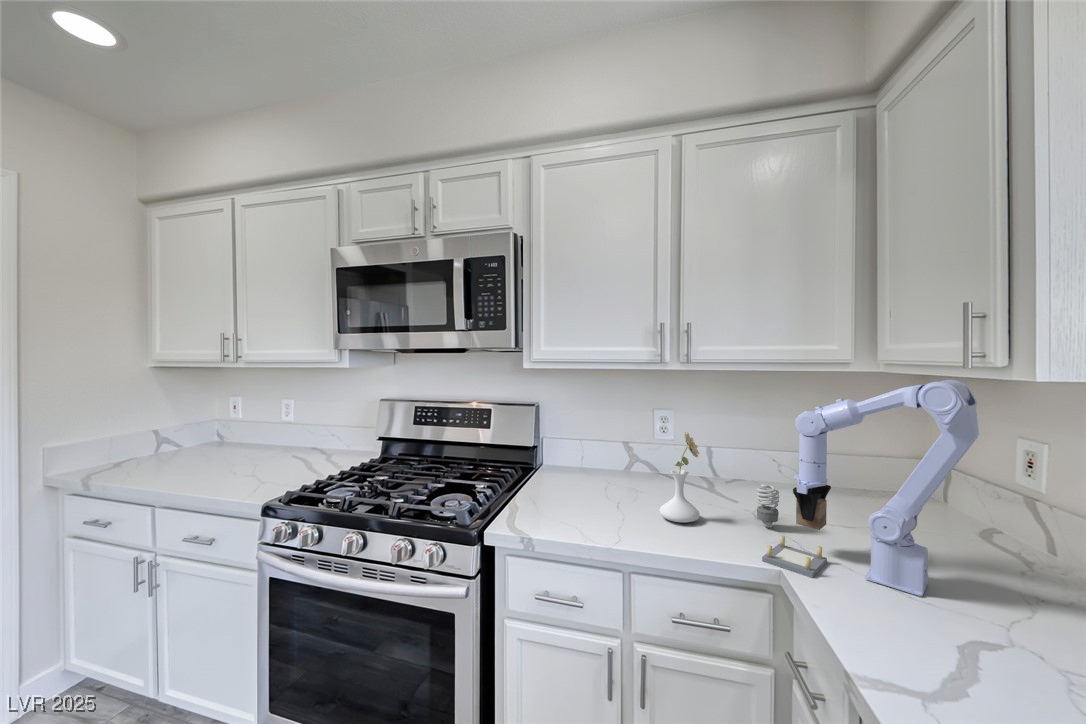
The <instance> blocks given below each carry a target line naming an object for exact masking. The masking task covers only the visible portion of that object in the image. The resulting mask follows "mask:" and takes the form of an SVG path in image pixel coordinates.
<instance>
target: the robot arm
mask: <svg viewBox="0 0 1086 724" xmlns="http://www.w3.org/2000/svg"><path fill="white" fill-rule="evenodd" d="M971 391H972V390H970V388H969V387H968V386H967V385H966V384H965V383H963V382H962V381H958V380H956V379H945V380H941V381H932V382H929V383H924V384H917V385H912V386H905V387H901V388H897V389H895V390H891V391H889V392H885V393H883V394H879V395H877V396H874V397H871V398H868V399H865V400H862V401H856V400H853V399H850V398H847V399H845V398H843V397H842V398H839V399H836V400H835V402H834V403H832V404H827V405H825V406H822V405H819V406H815V410H810V411H809V410H806V411H803V412H802V413H800V414H798V416H796V418H795V421H794V425H795V428H796V430H797V431H798V434H799V435H798V474H794V475H793V477H792V479H793V480H796V481H797V484H796V487H793V488H792V494H793V495H794V497H795V499H797V501H798V503H799V507H800V511H801V515H802V519H804V520H808V521H813V519H814V515H815V509H816V505H817V502H818V500H819V498H821V499H826V498H827V496H828V495H829V492H830V491H831V489H832V486H831V485H830V484H828V479H827V468H828V467H827V466H828V465H827V461H828V458H827V456H828V455H827V453H828V451H827V450H828V449H827V448H828V446H827V445H828V441H827V440H828V439H827V437H828V436H827V435H828V432H829V431H830V432H833V431H838V430H841V429H845V428H848V427H851V426H855V425H860V424H861V423H862V422H863V421H864V418H865V416H868V415H872V414H877V413H880V412H885V411H888V410H893V409H895V408H899V407H903V406H904V407H909V408H912V409H920V408H922V409H923V410H924V411H925V412H926V413H927V414H929V415H930V416H931V417H932V419H934V421H935V424H936V425H937V427H938V429H939V432H940V434H939V436H938V437H937V439H936V440H935V441H934V442H933V444H932V445H931V447H930V448H929V449H928V451H927V452H925V455H924V456H923V457H922V459H921V460H920V461H919V463H918V464H917V465H916V466H915V468H914V469H913V471H912V472H910V473H911V474H909V476H908V477H907V479H906V480H905V481H904V482H903V484H902V485H901V486H900V488H899V489H898V491H897V492H896V493H895V494H894V495H893V497H892V498H890V499H889V501H888V502H887V503H886V504H885V505H884V507H882V508H881V509H879V510H877V511H875V512H873V513H871V514H870V515H869V517H868V519H867V526H868V530H869V531H870V532H871V533H870V534H871V535H870V569H869V570H868V572H866V574H865V575H864V579H865V580H867V581H869V582H874V583H876V584H879V585H882V586H887V587H889V588H893V589H896V590H899V591H903V592H905V593H908V594H911V595H915V596H918V597H923V596H924V593H925V591H926V589H927V586H928V584H929V575H928V574H929V573H928V569H929V568H928V567H929V550H928V547H926V546H923V545H920V544H918V543H916V542H915V539H914V537H913V534H911V532H912V531H914V530H915V529H916V528H917V526H918V517H919V515H920V513H921V512H922V511H923V508H924V506H925V505H926V504H927V502H928V501H929V500H930V498H931V497H932V496H933V495H934V494H935V492H936V491H937V490H938V489H939V487H940V486H941V484H943V482H944V481H945V479H946V478H947V477H948V476H949V475H950V474H951V472H952V471H953V470H954V469H955V467H956V466H957V465H958V463H959V462H960V461H961V460H962V458H963V457H964V456H965V454H966V453H967V452H968V451H969V449H970V448H972V446H973V444H974V443H975V442H976V441H977V439H978V437H979V436H980V433H979V424H978V422H979V421H978V414H977V413H978V412H977V403H978V401H977V398H975V396H974V395H973V393H972V392H971Z"/></svg>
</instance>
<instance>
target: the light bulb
mask: <svg viewBox="0 0 1086 724" xmlns="http://www.w3.org/2000/svg"><path fill="white" fill-rule="evenodd" d="M756 491H757V492H756V497H755V498H756V499H757V501H756V502H757V504H758V506H757V508H756V517H757V519H758V520H759V521H762V522H761V523H762V526H763V527H765V528H766V529H770V528H772V527H773V523H776V522H778V519H779V509H778V506H779V502H780V491H779V489H778V488H776V487H775V486H773V485H771V484H760V487H758V488H756ZM772 505H773V506H772Z"/></svg>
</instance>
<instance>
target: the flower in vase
mask: <svg viewBox="0 0 1086 724" xmlns="http://www.w3.org/2000/svg"><path fill="white" fill-rule="evenodd" d="M683 437H684V443H685V444H686V447H685V449H684V450H683V453H682V455H681V460H680V461H679V460H678V461H677V462H676V463H675V465H674V466H675V467H678V468H679V469H671V470H670V473H671V475H672V476H673V479H674V485H675V491H674V492H675V493H674V495H673V497H672V498H671V499H669V500H668V501H667V502H665V503H664V504H662V505H661V506H660V508H659V510H658V513H659V514H660V516H661V517H662V518H664V519H666V520H668V521H671V522H675V523H681V524H682V523H692V522H695V521H698V520H699V519H700V517H701V514H700V512H699V510H698V509H697V507H695V505H693V504H692V503H691V502H689V501H688V500H687V498H686V497H685V494H684V486H685V481H686V478H687V475H689V471H687V470H683V469H682V467H683V466H684V465H685V466H688V465H689V459H688V458H687V457H686V456H685V453H686V452H687V449H688V451H689V452H690V453H691V455H692V456H693V457H694V458H699V455H700V452H699V450H698V449H699V448H698V446H697V444H696V442H695V441H694V438H693V437H690V434H689V432H685V431H684V433H683Z"/></svg>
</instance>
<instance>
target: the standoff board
mask: <svg viewBox="0 0 1086 724" xmlns="http://www.w3.org/2000/svg"><path fill="white" fill-rule="evenodd" d="M785 543H786V537H785V536H784V535H780V537H779V543H778V544H776V545H775V546H774V547H773V545H767V549H766V550H767V551H766V553H765V554H764V555H763V556H761V562H764V563H766V564H770V565H773V566H776V567H779V568H781V569H784V570H787V571H790V572H794V573H796V574H799V575H802V576H806V577H808V578H812V579H813V578H814V577H815V576H816V574H818V572H820V571H821V569H822V568H823V567H824V566H825V565H826V564H827V563H828V557H825V556H823V547H822V546H820V545H819V546H816V554H814V553H812V552H809V551H805V550H801V549H798V548H794V547H792V546H789V545H786V544H785Z"/></svg>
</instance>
